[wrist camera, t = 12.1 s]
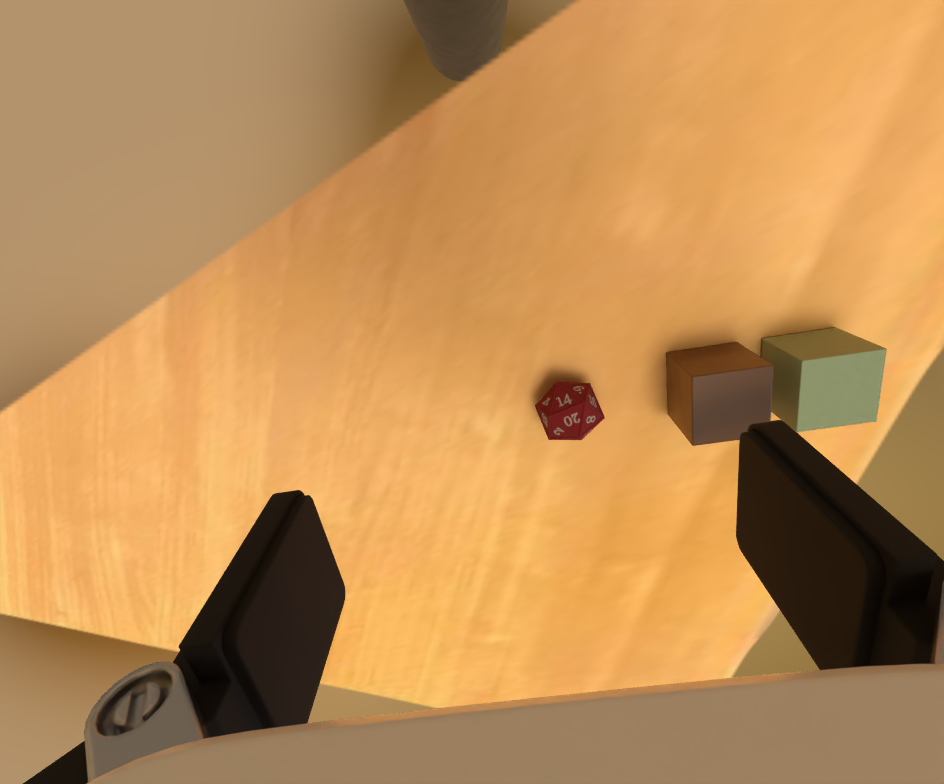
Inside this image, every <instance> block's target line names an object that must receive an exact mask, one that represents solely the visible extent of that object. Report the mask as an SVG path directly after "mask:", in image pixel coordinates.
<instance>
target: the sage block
mask: <svg viewBox="0 0 944 784" xmlns="http://www.w3.org/2000/svg"><path fill="white" fill-rule="evenodd" d="M885 357H886V348H883V347H881V346H879V345H876V344H874V343H871V342H869V341H867V340H864V339H862V338H860V337H857V336H855V335H852V334H850V333H848V332H845V331H843V330H840V329H838V328H835V327H834V328H828V329H821V330H814V331H808V332H801V333H794V334H787V335H781V336H774V337H767V338H762V351H761V358H763V359H764V360H766V361H767V362H769V363H771V364H772V365H773V382H772V400H771V412H772V413H774V414H775V415H776V416H777V417H779V418H780V419H781V420H782V421H784V422H785V423H786V424H787V425H789V426H790V427H791V428H792V429H794V430H795V431H796V432H801V431H809V430H816V429H823V428H831V427H838V426H846V425H853V424H861V423H868V422H876V421H877V413H878V406H879V399H880V392H881V385H882V378H883V371H884V364H885Z"/></svg>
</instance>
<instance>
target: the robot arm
mask: <svg viewBox="0 0 944 784" xmlns="http://www.w3.org/2000/svg"><path fill="white" fill-rule="evenodd" d="M736 537H737V542H738V545H739V548H740V550H741V552H742V553H743V555H744V556H745V558H746V559H747V561H748V562H749V564H750V565H751V567H752V568H753V570H754V571H755V573H756V574H757V576H758V577H759V579H760V580H761V582H762V583H763V585H764V586H765V588H766V589H767V591H768V592H769V594H770V595H771V597H772V598H773V600H774V601H775V603H776V605H777V606H778V608H779V609H780V611H781V612H782V614H783V615H784V617H785V618H786V619H787V621H788V623H789V624H790V626H791V627H792V629H793V630H794V632H795V633H796V635H797V636H798V638H799V639H800V641H801V642H802V643H803V645H804V647H805V648H806V649H807V651H808V653H809V654H810V656H811V657H812V659H813V660H814V661H815V663H816V664H817V666H818V668H819V669H820V670H815V671H805V672H804V671H803V672H791V673H780V674H767V675H757V676H748V677H738V678H727V679H717V680H707V681H697V682H687V683H677V684H667V685H657V686H647V687H637V688H626V689H617V690H607V691H598V692H588V693H579V694H569V695H559V696H550V697H540V698H531V699H521V700H512V701H503V702H493V703H484V704H474V705H465V706H456V707H447V708H438V709H429V710H420V711H411V712H402V713H393V714H384V715H375V716H366V717H357V718H348V719H339V720H330V721H323V722H314V723H307V722H308V719H309V716H310V712H311V709H312V706H313V703H314V699H315V696H316V693H317V689H318V686H319V683H320V680H321V677H322V673H323V670H324V667H325V664H326V660H327V657H328V654H329V650H330V647H331V644H332V641H333V637H334V634H335V631H336V628H337V624H338V621H339V618H340V615H341V611H342V608H343V605H344V601H345V586H344V582H343V580H342V577H341V574H340V572H339V569H338V566H337V564H336V561H335V558H334V556H333V553H332V550H331V547H330V545H329V542H328V539H327V537H326V534H325V531H324V529H323V526H322V523H321V521H320V518H319V515H318V512H317V510H316V507H315V504H314V502H313V499H312V498H311V497H310V496H309V495H306V496H305V495H304V493H303V492H302V491H300V490H296V491H289V492H282V493H276V494H273V495H272V496H271V498H270V499H269V501H268V503H267V504H266V506H265V507H264V509H263V511H262V512H261V514H260V516H259V517H258V519H257V520H256V522H255V524H254V525H253V527H252V528H251V530H250V532H249V533H248V535H247V537H246V538H245V540H244V541H243V543H242V545H241V546H240V548H239V550H238V551H237V553H236V554H235V556H234V558H233V559H232V561H231V562H230V564H229V566H228V567H227V569H226V571H225V572H224V574H223V575H222V577H221V579H220V580H219V582H218V584H217V585H216V587H215V588H214V590H213V592H212V593H211V595H210V596H209V598H208V600H207V601H206V603H205V605H204V606H203V608H202V609H201V611H200V613H199V614H198V616H197V618H196V619H195V621H194V622H193V624H192V626H191V627H190V629H189V631H188V632H187V634H186V635H185V637H184V639H183V640H182V642H181V643H180V645H179V648H180V652H179V653H178V655H177V657H176V658H175V660H174V661H173V663H171V662H156V663H152V664H149V665H146V666H143V667H141V668H139V669H137V670H135V671H133V672H131V673H129V674H128V675H126V676H125V677H124V678H122V679H121V680H119V681H118V682H117V683H115V684H114V685H113V686H112V687H111V688H110V689H109V690H108V691H107V692H106V693H104V695H102V697H101V698H100V699H99V700H98V702H97V703H96V704H95V706H94V707H93V708H92V710H91V712H90V714H89V716H88V718H87V720H86V724H85V731H84V738H85V741H84V742H82V743H81V744H79V745H78V746H76V747H75V748H74V749H72V750H71V751H70V752H68V753H66V754H65V755H64V756H62V757H61V758H59V759H58V760H56V761H55V762H54V763H52V764H51V765H49V766H48V767H46V768H45V769H43V770H42V771H41V772H39V773H38V774H36V775H35V776H33V777H32V778H30V779H29V780H28V781H26V782H25V783H23V784H944V561H943V560H942V559H941V558H940V557H939V556H937V554H936V553H935V552H934V551H933V550H932V549H930V548H929V547H928V546H927V545H926V544H925V543H923V542H922V541H921V540H920V539H919V538H918V537H917V536H915V535H914V534H913V533H912V532H911V531H910V530H908V529H907V528H906V527H905V526H904V525H903V524H902V523H900V522H899V521H898V520H897V519H896V518H895V517H893V516H892V515H891V514H890V513H889V512H888V511H887V510H885V509H884V508H883V507H882V506H881V505H880V504H878V503H877V502H876V501H875V500H874V499H873V498H872V497H870V496H869V495H868V494H867V493H866V492H865V491H863V490H862V489H861V488H860V487H859V486H858V485H857V484H855V483H854V482H853V481H852V480H851V479H850V478H848V477H847V476H846V475H845V474H844V473H843V472H842V471H840V470H839V469H838V468H837V467H836V466H835V465H833V464H832V463H831V462H830V461H829V460H828V459H827V458H825V457H824V456H823V455H822V454H821V453H820V452H818V451H817V450H816V449H815V448H814V447H813V446H812V445H810V444H809V443H808V442H807V441H806V440H805V439H803V438H802V437H801V436H800V435H799V434H798V433H797V432H795V431H794V430H793V429H792V428H791V427H790V426H788V425H787V424H786V423H785V422H783V421H782V420H776V421H769V422H762V423H755V424H751V425H750V426H749V428H748V431H747V432H743V433H741V435H740V444H739V471H738V498H737V524H736Z"/></svg>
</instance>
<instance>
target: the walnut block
mask: <svg viewBox="0 0 944 784" xmlns="http://www.w3.org/2000/svg"><path fill="white" fill-rule="evenodd" d="M666 360H667V397H668V415H669V416H670V418H671V419H672V420H673V421H674V423H675V424H676V425H677V427H678V428H679V429H680V430H681V432H682V433H683V434H684V435H685V437H686V438H687V439H688V440H689V442H690V443H691V444H692V445H693V446H695V445H703V444H710V443H717V442H725V441H732V440H740V435H741V433H743V432H747V431H748V428H749V426H750V425H751V424H755V423H762V422H769V421H770V418H771V400H772V382H773V365H772V364H771V363H769V362H767V361H766V360H764V359H763V358H761V357H760V356H758V355H756V354H755V353H753V352H752V351H750V350H749V349H747V348H745V347H744V346H742V345H741V344H739V343H738V342H735V343H728V344H722V345H715V346H708V347H702V348H695V349H688V350H681V351H675V352H668V353H666Z"/></svg>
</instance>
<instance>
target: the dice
mask: <svg viewBox="0 0 944 784" xmlns="http://www.w3.org/2000/svg"><path fill="white" fill-rule="evenodd" d="M535 407H536V409H537V412H538V414H539V417H540V419H541V422H542V424H543V427H544V429H545V432H546V434H547V437H548V439H549V440H582V439H583V438H584V437H585V436H586V435H587V434H588V433H589V432H590V431H591V430H592V429H593V428H594V427H596V426H597V425H598V424H599V423H600V422H601V421H602V420H603V419H604V418H605V417H604V415H603V412H602V410H601V408H600V405H599V403H598V401H597V398H596V396H595V394H594V391H593V389H592V387H591V384H590V383H569V382H556V383H555V384H554V385H553V386H552V388H551V389H550V390H549V391H548V392H547V393H546V394H545V395H544V396H543V398H542V399H541V400H540V401H539V402H538V403H537V404H536V405H535Z"/></svg>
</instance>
